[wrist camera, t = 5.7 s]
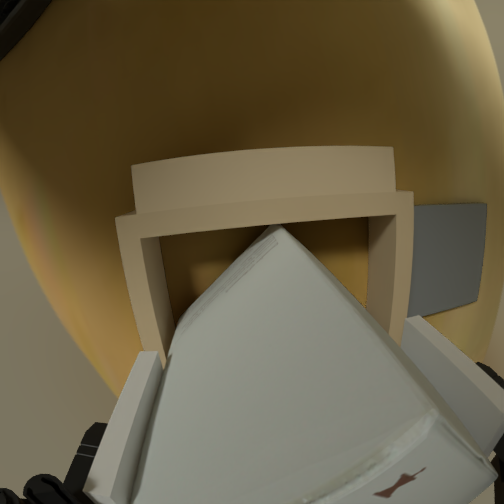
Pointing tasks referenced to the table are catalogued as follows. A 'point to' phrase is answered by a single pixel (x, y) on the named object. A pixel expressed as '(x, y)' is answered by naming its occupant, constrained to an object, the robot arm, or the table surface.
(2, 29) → the robot arm
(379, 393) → the supplement box
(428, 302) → the coaster
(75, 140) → the table surface
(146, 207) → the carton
